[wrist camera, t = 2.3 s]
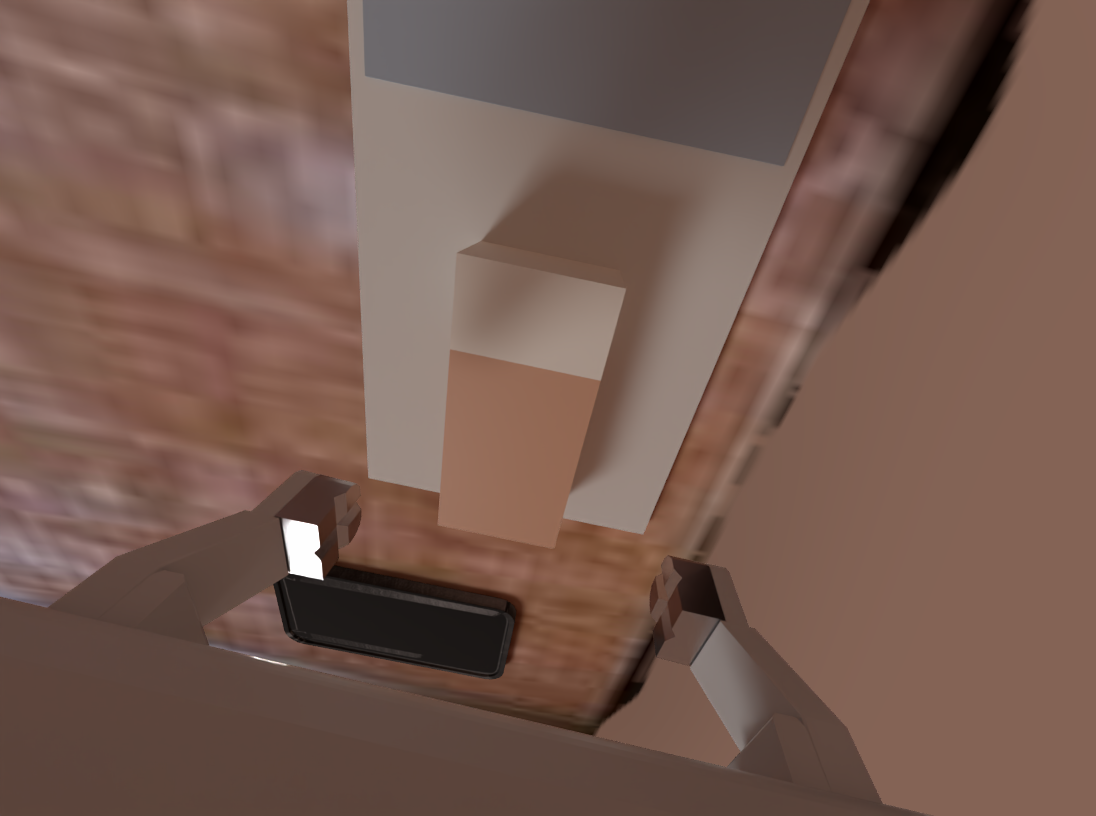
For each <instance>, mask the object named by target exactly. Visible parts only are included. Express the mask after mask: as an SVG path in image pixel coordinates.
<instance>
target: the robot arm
mask: <svg viewBox="0 0 1096 816" xmlns="http://www.w3.org/2000/svg"><path fill="white" fill-rule="evenodd" d="M360 496H361V491H360V486H359V485H358V484H356V483H352V482H348V481H344V480H340V479H336V478H333V477H329V476H325V475H321V474H320V475H319V474H315V473H311V472H308V471H304V470H301V471H298V472H295V473H294V474H293V475H292V476H291V477H289V478H288V479H287V480H286V481H285V482H284V483H283V484H282V485H280V486H279V487H278V488H277V489H276V490H275V491H274V492H273V493H271V494H270V495H269V496H268V497H267V498H266V499H265V500H264V501H262V502H261V503H260V504H259V505H258V506H257V507H256V508H255V509H253V510H252V511H246V510H245V511H242V512H239V513H236V514H234V515H231V516H228V517H225V518H222V519H220V520H217V521H214V522H211V523H209V524H206V525H203V526H200V527H197V528H195V529H192V530H189V531H186V532H184V533H181V534H178V535H175V536H172V537H170V538H167V539H164V540H161V541H159V542H156V543H153V544H150V545H147V546H145V547H142V548H139V549H136V550H134V551H131V552H128V553H125V554H122V555H120V556H117V557H115V558H114V559H113V560H111V561H110V562H109V563H107V564H106V565H105V566H103V567H102V568H101V569H99V570H98V571H96V572H95V573H94V574H92V575H91V576H90V577H88V578H87V579H86V580H84V581H83V582H82V583H80V584H79V585H78V586H76V587H75V588H73V589H72V590H71V591H69V592H68V593H67V594H65V595H64V596H63V597H61V598H60V599H59V600H57V601H56V602H54V603H53V604H52V605H50V606H49V607H48V608H46V607H42V606H37V605H33V604H29V603H25V602H20V601H16V600H12V599H8V598H3V597H0V816H932V815H928V814H924V813H919V812H915V811H911V810H907V809H902V808H898V807H894V806H889V805H885V804H883V803H882V801H881V799H880V797H879V795H878V793H877V790H876V788H875V786H874V784H873V782H872V780H871V778H870V776H869V773H868V771H867V769H866V767H865V765H864V763H863V761H862V759H861V757H860V754H859V752H858V750H857V748H856V746H855V744H854V742H853V739H852V737H851V735H850V733H849V731H848V729H847V727H846V726H845V725H844V724H843V723H842V722H841V721H840V720H839V719H838V717H837V716H836V715H835V714H834V713H833V712H832V711H831V710H830V709H829V708H828V707H827V706H826V705H825V703H824V702H823V701H822V700H821V699H820V698H819V697H818V696H817V695H816V694H815V693H814V692H813V691H812V690H811V688H810V687H809V686H808V685H807V684H806V683H805V682H804V681H803V680H802V679H801V678H800V677H799V675H798V674H797V673H796V672H795V671H794V670H793V669H792V668H791V667H790V666H789V665H788V664H787V662H786V661H785V660H784V659H783V658H782V657H781V656H780V655H779V654H778V653H777V652H776V651H775V650H774V649H773V647H772V646H771V645H770V644H769V643H768V642H767V641H766V640H765V639H764V638H763V637H762V635H760V634H759V632H758V631H757V630H756V629H755V628H751V627H749V625H748V623H747V620H746V617H745V614H744V612H743V609H742V606H741V604H740V601H739V598H738V595H737V593H736V590H735V587H734V584H733V581H732V578H731V576H730V573H729V571H728V570H727V569H726V568H723V567H719V566H715V565H709V564H704V563H701V562H696V561H692V560H687V559H682V558H678V557H673V556H669V555H668V556H667V557H665V558H664V560H663V562H662V564H661V568H662V574H660V575H658V576H656V577H655V579H654V581H653V584H652V586H651V592H650V614H651V616H652V617H653V618H654V620H655V621H656V622H657V623H656V625H655V627H654V629H653V637H654V645H655V653H656V657H657V658H661V659H664V660H668V661H672V662H676V663H680V664H684V665H687V666H691V667H690V669H691V671H692V672H693V674H694V676H695V677H696V679H697V680H698V682H699V684H700V686H701V687H702V689H703V691H704V692H705V694H706V695H707V697H708V699H709V700H710V702H711V704H712V705H713V707H714V709H715V710H716V712H717V714H718V715H719V717H720V718H721V720H722V722H723V723H724V725H725V727H726V728H727V730H728V732H729V733H730V735H731V736H732V738H733V740H734V742H735V743H736V745H737V746H738V748H739V750H740V751H741V752H740V753H739V754H738V755H737V757H735V759H734V760H733V761H732V762H731V763H730V764H729V765H728V766H727V767H723V766H719V765H715V764H711V763H706V762H702V761H698V760H694V759H689V758H685V757H681V756H676V755H672V754H667V753H664V752H659V751H655V750H650V749H646V748H642V747H638V746H634V745H630V744H625V743H621V742H617V741H613V740H608V739H604V738H599V737H595V736H591V735H587V734H583V733H578V732H574V731H570V730H566V729H561V728H557V727H553V726H549V725H544V724H540V723H536V722H532V721H527V720H523V719H519V718H515V717H510V716H506V715H502V714H498V713H493V712H489V711H485V710H480V709H476V708H472V707H468V706H463V705H459V704H455V703H450V702H446V701H442V700H438V699H433V698H429V697H425V696H420V695H416V694H412V693H408V692H403V691H399V690H395V689H390V688H386V687H382V686H378V685H373V684H369V683H365V682H361V681H356V680H352V679H348V678H344V677H339V676H335V675H331V674H326V673H322V672H318V671H314V670H309V669H305V668H301V667H297V666H292V665H288V664H284V663H280V662H275V661H271V660H267V659H263V658H258V657H254V656H250V655H245V654H241V653H237V652H233V651H228V650H224V649H220V648H216V647H211V646H209V643H208V641H207V638H206V635H205V632H204V629H203V626H205V625H206V624H208V623H210V622H211V621H213V620H215V619H216V618H218V617H220V616H221V615H223V614H224V613H226V612H228V611H229V610H231V609H233V608H234V607H236V606H238V605H239V604H241V603H243V602H244V601H246V600H248V599H249V598H251V597H253V596H254V595H256V594H258V593H259V592H261V591H262V590H264V589H266V588H267V587H269V586H271V585H272V584H274V583H276V582H277V581H279V580H281V579H282V578H284V577H286V576H287V575H288V573H292V574H297V575H302V576H307V577H312V578H317V579H322V580H323V579H324V578H325V576H326V575H327V574H328V572H329V571H330V570H331V568H332V567H333V565H334V564H335V563H336V561H337V560H338V559H339V552H338V549H340V548H342V547H344V546H346V545H348V544H349V543H350V542H351V541H352V539H353V538H354V536H355V534H356V532H357V530H358V527H359V525H360V521H361V508H360V506H359V505H358V504H357V502H356V501H357V500H358V499H359V497H360Z"/></svg>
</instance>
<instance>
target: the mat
mask: <svg viewBox="0 0 1096 816" xmlns="http://www.w3.org/2000/svg"><path fill="white" fill-rule="evenodd" d="M869 2H870V0H347V9H348V32H349V54H350V77H351V99H352V121H353V144H354V166H355V189H356V211H357V233H358V256H359V278H360V301H361V323H362V345H363V368H364V390H365V413H366V435H367V457H368V478H371V479H376V480H381V481H386V482H390V483H395V484H400V485H405V486H410V487H415V488H420V489H424V490H429V491H434V492H439V493H440V485H441V471H442V456H443V442H444V428H445V413H446V399H447V384H448V370H449V356H450V341H451V327H452V312H453V298H454V284H455V269H456V255H457V252H459V251H461V250H463V249H465V248H468V247H470V246H472V245H474V244H476V243H478V242H480V241H484V242H489V243H494V244H499V245H503V246H508V247H513V248H517V249H522V250H527V251H532V252H536V253H541V254H546V255H550V256H555V257H560V258H564V259H569V260H574V261H579V262H583V263H588V264H593V265H597V266H602V267H607V268H612V269H616V270H620V273H621V275H622V278H623V281H624V284H625V286H626V292H625V295H624V299H623V303H622V306H621V310H620V313H619V317H618V321H617V324H616V328H615V331H614V335H613V339H612V342H611V346H610V349H609V353H608V357H607V360H606V364H605V367H604V371H603V375H602V378H601V382H600V385H599V389H598V393H597V396H596V400H595V403H594V407H593V411H592V414H591V418H590V421H589V425H588V429H587V432H586V436H585V439H584V443H583V446H582V450H581V454H580V457H579V461H578V464H577V468H576V472H575V475H574V479H573V482H572V486H571V490H570V493H569V497H568V500H567V504H566V508H565V511H564V515H563V518H565V519H570V520H575V521H580V522H585V523H590V524H595V525H599V526H604V527H609V528H614V529H619V530H624V531H629V532H633V533H638V534H644V531H645V529H646V527H647V524H648V522H649V519H650V517H651V515H652V512H653V510H654V508H655V505H656V503H657V501H658V498H659V496H660V494H661V491H662V489H663V487H664V484H665V482H666V479H667V477H668V475H669V472H670V470H671V468H672V465H673V463H674V461H675V458H676V456H677V454H678V451H679V449H680V447H681V444H682V442H683V439H684V437H685V435H686V432H687V430H688V428H689V425H690V423H691V421H692V418H693V416H694V414H695V411H696V409H697V407H698V404H699V402H700V399H701V397H702V395H703V392H704V390H705V388H706V385H707V383H708V381H709V378H710V376H711V374H712V371H713V369H714V367H715V364H716V362H717V359H718V357H719V355H720V352H721V350H722V348H723V345H724V343H725V341H726V338H727V336H728V334H729V331H730V329H731V327H732V324H733V322H734V319H735V317H736V315H737V312H738V310H739V308H740V305H741V303H742V301H743V298H744V296H745V294H746V291H747V289H748V286H749V284H750V282H751V279H752V277H753V275H754V272H755V270H756V268H757V265H758V263H759V261H760V258H761V256H762V254H763V251H764V249H765V246H766V244H767V242H768V239H769V237H770V235H771V232H772V230H773V228H774V225H775V223H776V221H777V218H778V216H779V214H780V211H781V209H782V206H783V204H784V202H785V199H786V197H787V195H788V192H789V190H790V188H791V185H792V183H793V181H794V178H795V176H796V174H797V171H798V169H799V166H800V164H801V162H802V159H803V157H804V155H805V152H806V150H807V148H808V145H809V143H810V141H811V138H812V136H813V134H814V131H815V129H816V126H817V124H818V122H819V119H820V117H821V115H822V112H823V110H824V108H825V105H826V103H827V101H828V98H829V96H830V94H831V91H832V89H833V86H834V84H835V82H836V79H837V77H838V75H839V72H840V70H841V68H842V65H843V63H844V61H845V58H846V56H847V54H848V51H849V49H850V46H851V44H852V42H853V39H854V37H855V35H856V32H857V30H858V28H859V25H860V23H861V21H862V18H863V16H864V14H865V11H866V9H867V6H868V4H869Z"/></svg>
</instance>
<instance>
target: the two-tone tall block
mask: <svg viewBox="0 0 1096 816" xmlns="http://www.w3.org/2000/svg"><path fill="white" fill-rule="evenodd" d="M625 292H626V286H625V284H624V281H623V278H622V275H621V273H620V270H616V269H612V268H607V267H602V266H597V265H593V264H588V263H583V262H579V261H574V260H569V259H564V258H560V257H555V256H550V255H546V254H541V253H536V252H532V251H527V250H522V249H517V248H513V247H508V246H503V245H499V244H494V243H489V242H484V241H480V242H478V243H476V244H474V245H472V246H470V247H468V248H465V249H463V250H461V251H459V252H457V255H456V269H455V284H454V298H453V312H452V327H451V341H450V356H449V370H448V384H447V399H446V413H445V428H444V442H443V456H442V471H441V485H440V500H439V514H438V525H439V526H444V527H449V528H454V529H459V530H464V531H469V532H474V533H478V534H483V535H488V536H493V537H498V538H503V539H508V540H513V541H518V542H522V543H527V544H532V545H537V546H542V547H547V548H552V549H554V547H555V544H556V540H557V536H558V533H559V529H560V526H561V522H562V518H563V515H564V511H565V508H566V504H567V500H568V497H569V493H570V490H571V486H572V482H573V479H574V475H575V472H576V468H577V464H578V461H579V457H580V454H581V450H582V446H583V443H584V439H585V436H586V432H587V429H588V425H589V421H590V418H591V414H592V411H593V407H594V403H595V400H596V396H597V393H598V389H599V385H600V382H601V378H602V375H603V371H604V367H605V364H606V360H607V357H608V353H609V349H610V346H611V342H612V339H613V335H614V331H615V328H616V324H617V321H618V317H619V313H620V310H621V306H622V303H623V299H624V295H625Z"/></svg>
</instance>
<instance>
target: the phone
mask: <svg viewBox="0 0 1096 816" xmlns="http://www.w3.org/2000/svg"><path fill="white" fill-rule="evenodd" d="M273 585H274V589H275V593H276V597H277V602H278V606H279V610H280V614H281V618H282V622H283V627H284V631H285V633H286V634H287V635H288V636H289V637H290V638H291V639H293V640H295V641H297V642H299V643H303V644H308V645H313V646H318V647H323V648H329V649H334V650H339V651H344V652H349V653H355V654H360V655H365V656H370V657H375V658H380V659H386V660H391V661H396V662H401V663H406V664H411V665H417V666H422V667H427V668H432V669H437V670H442V671H448V672H453V673H458V674H463V675H468V676H473V677H478V678H484V679H496V678H499V677H500V676H502V674H503V672H504V668H505V663H506V659H507V654H508V650H509V645H510V641H511V636H512V632H513V627H514V622H515V617H516V609H515V607H514V606H513V605H512V604H511V603H510V602H508V601H506V600H504V599H500V598H495V597H490V596H485V595H480V594H475V593H470V592H465V591H460V590H455V589H450V588H445V587H440V586H435V585H430V584H425V583H420V582H415V581H409V580H404V579H399V578H394V577H389V576H384V575H379V574H374V573H369V572H364V571H359V570H354V569H349V568H344V567H339V566H334V565H333V567H332V568H331V570H330V571H329V572H328V574H327V575H326V576H325V578H324V579H323V580H322V579H317V578H312V577H307V576H302V575H297V574H292V573H288V575H287V576H286V577H284V578H282V579H281V580H279V581H277V582H276V583H274V584H273Z"/></svg>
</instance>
